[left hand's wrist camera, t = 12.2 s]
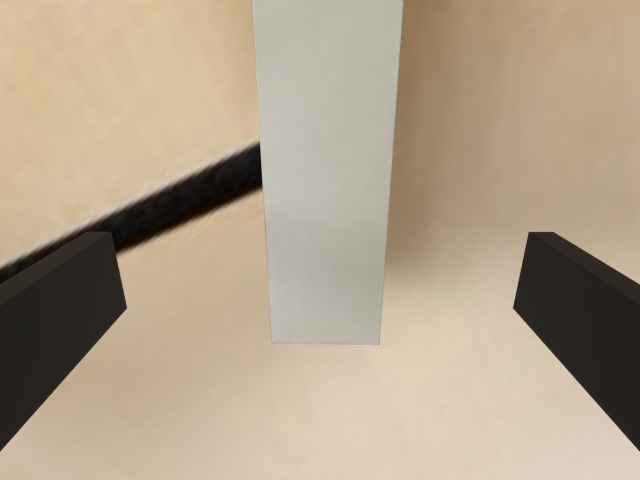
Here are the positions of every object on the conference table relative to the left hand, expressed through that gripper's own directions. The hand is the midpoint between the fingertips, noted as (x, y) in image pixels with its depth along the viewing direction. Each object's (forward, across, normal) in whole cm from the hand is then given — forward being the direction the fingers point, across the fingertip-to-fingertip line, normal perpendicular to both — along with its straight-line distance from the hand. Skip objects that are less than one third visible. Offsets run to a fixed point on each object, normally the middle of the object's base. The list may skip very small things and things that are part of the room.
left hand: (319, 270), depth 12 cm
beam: (+11, 0, -23) cm, 26 cm away
